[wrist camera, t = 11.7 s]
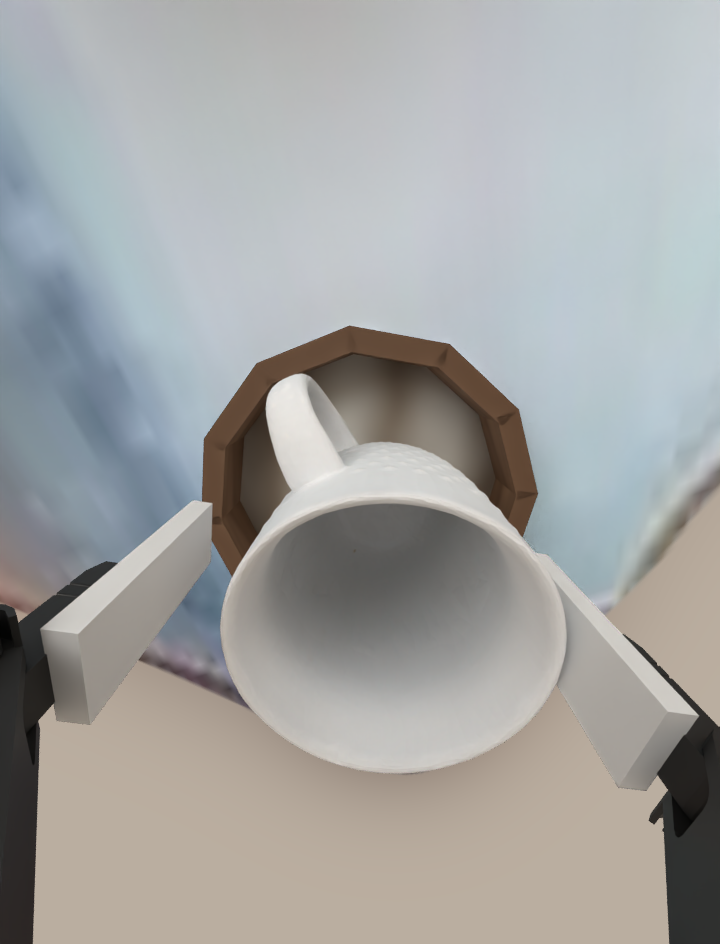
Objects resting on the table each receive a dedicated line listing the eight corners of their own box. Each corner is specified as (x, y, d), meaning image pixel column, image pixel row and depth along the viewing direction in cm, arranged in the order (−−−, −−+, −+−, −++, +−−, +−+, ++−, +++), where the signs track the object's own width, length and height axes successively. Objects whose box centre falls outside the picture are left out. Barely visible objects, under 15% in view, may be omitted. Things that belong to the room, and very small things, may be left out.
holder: (217, 585, 26) (193, 620, 22) (230, 305, 20) (202, 291, 16) (466, 621, 27) (483, 660, 23) (550, 364, 21) (589, 363, 17)
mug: (240, 418, 22) (57, 481, 9) (391, 330, 20) (417, 260, 7) (350, 592, 25) (326, 810, 13) (488, 532, 23) (619, 719, 11)
